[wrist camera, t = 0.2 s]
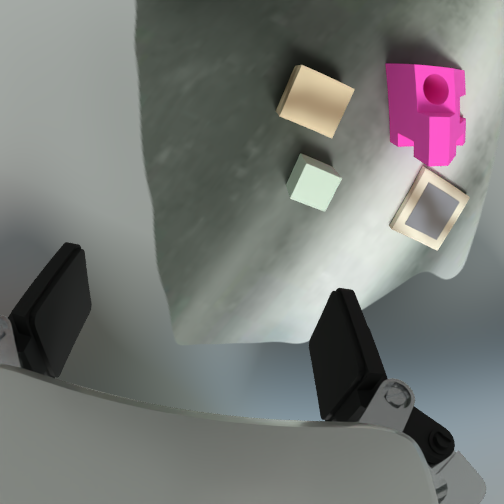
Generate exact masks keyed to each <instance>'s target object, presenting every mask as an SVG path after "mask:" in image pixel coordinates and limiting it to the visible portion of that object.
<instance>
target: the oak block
mask: <svg viewBox="0 0 504 504" xmlns="http://www.w3.org/2000/svg"><path fill="white" fill-rule="evenodd" d="M354 90H355V89H353V88H351V87H349V86H347V85H345V84H343V83H341V82H339V81H337V80H334V79H332V78H330V77H328V76H326V75H324V74H322V73H319V72H317V71H315V70H313V69H310V68H308V67H306V66H303V65H297V66H295V67H294V70H293V72H292V74H291V76H290V79H289V81H288V83H287V86H286V88H285V90H284V93H283V95H282V97H281V100H280V102H279V104H278V107H277V109H276V112H277V113H278V115H279V116H280V117H283V118H285V119H288V120H290V121H293V122H295V123H297V124H300V125H302V126H305V127H307V128H309V129H312V130H314V131H316V132H319V133H321V134H323V135H325V136H328V137H330V138H332V137H333V135H334V133H335V131H336V129H337V126H338V124H339V122H340V120H341V118H342V116H343V114H344V111H345V109H346V107H347V105H348V103H349V101H350V98H351V96H352V94H353V92H354Z"/></svg>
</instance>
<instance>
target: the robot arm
mask: <svg viewBox="0 0 504 504" xmlns="http://www.w3.org/2000/svg"><path fill="white" fill-rule="evenodd" d="M90 310H91V298H90V292H89V284H88V277H87V269H86V260H85V252H84V250H83V249H81V247H80V245H78V244H73V243H67V242H66V243H64V244H63V246H62V247H61V248H60V249H59V250H58V252H57V253H56V254H55V255H54V256H53V258H52V259H51V260H50V261H49V263H48V264H47V265H46V266H45V268H44V269H43V270H42V271H41V273H40V274H39V275H38V276H37V278H36V279H35V280H34V282H33V283H32V284H31V286H30V287H29V288H28V290H27V291H26V292H25V294H24V295H23V297H22V298H21V299H20V301H19V302H18V303H17V305H16V306H15V308H14V309H13V310H12V312H11V314H10V315H9V317H8V318H7V317H5V316H3V315H0V504H479V503H480V502H481V501H482V499H483V498H484V496H485V494H486V485H485V482H484V480H483V478H482V477H481V476H480V475H479V474H478V473H477V471H476V470H475V469H474V468H473V467H472V466H471V464H470V463H469V462H468V461H467V460H466V459H465V457H464V456H463V455H462V454H461V453H460V452H459V451H457V452H455V451H454V447H455V444H454V439H453V436H452V435H451V433H450V432H449V431H448V430H447V429H446V428H444V427H443V426H441V425H440V424H439V423H437V422H435V421H434V420H433V419H431V418H430V417H428V416H427V415H425V414H424V413H423V412H421V411H420V410H418V409H417V408H416V407H414V403H415V397H414V394H413V391H412V390H411V388H410V387H409V386H408V385H407V384H406V383H404V382H403V381H401V380H398V379H387V376H386V373H385V370H384V367H383V364H382V362H381V359H380V356H379V353H378V350H377V348H376V345H375V342H374V340H373V337H372V334H371V332H370V329H369V327H368V326H367V323H366V321H365V318H364V316H363V313H362V310H361V308H360V305H359V303H358V300H357V298H356V295H355V293H354V291H353V290H351V289H343V288H338V289H337V290H336V291H332V293H331V295H330V297H329V299H328V301H327V304H326V306H325V308H324V310H323V313H322V315H321V317H320V319H319V321H318V323H317V326H316V328H315V330H314V332H313V334H312V336H311V338H310V342H309V350H310V356H311V361H312V367H313V373H314V379H315V385H316V390H317V396H318V403H319V409H320V415H321V418H322V419H323V420H325V421H296V420H275V419H274V420H273V419H260V418H259V419H258V418H248V417H236V416H227V415H220V414H211V413H204V412H196V411H190V410H184V409H178V408H172V407H166V406H161V405H156V404H151V403H146V402H141V401H137V400H132V399H128V398H123V397H119V396H115V395H111V394H107V393H103V392H100V391H96V390H92V389H89V388H85V387H81V386H78V385H74V384H72V383H68V382H65V381H61V380H58V379H55V377H59V376H60V374H61V372H62V369H63V367H64V365H65V362H66V360H67V358H68V356H69V354H70V352H71V350H72V347H73V345H74V343H75V341H76V339H77V337H78V335H79V333H80V331H81V329H82V327H83V325H84V323H85V321H86V319H87V317H88V315H89V313H90Z"/></svg>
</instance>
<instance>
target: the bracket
mask: <svg viewBox="0 0 504 504" xmlns="http://www.w3.org/2000/svg"><path fill="white" fill-rule="evenodd" d="M385 64H386V75H387V86H388V100H389V119H390V142H391V143H393V144H394V145H396V146H398V147H402V146H414V157H415V158H417V159H418V160H420V161H421V162H423V163H424V164H426V165H427V166H448V165H449V164H450V162H451V161H452V160H453V158H454V157H455V156H456V145H463V144H464V143H465V129H466V119H465V118H463V117H460V97H461V96H463V95H466V93H465V71H464V70H459V69H453V68H446V67H437V66H427V65H416V64H387V63H385Z"/></svg>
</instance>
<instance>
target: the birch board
mask: <svg viewBox="0 0 504 504" xmlns="http://www.w3.org/2000/svg"><path fill="white" fill-rule="evenodd" d="M469 198H470V197H468V196H467V195H466V194H464V193H463V192H462V191H460V190H459V189H457V188H456V187H454V186H453V185H451V184H450V183H448V182H447V181H445V180H444V179H442V178H441V177H439V176H438V175H436V174H435V173H433V172H432V171H430V170H428V169H427V168H425V167H424V166H422V168H421V170H420V172H419V174H418V176H417V178H416V179H415V181H414V183H413V185H412V187H411V189H410V190H409V192H408V194H407V196H406V198H405V199H404V201H403V203H402V205H401V206H400V208H399V210H398V212H397V213H396V215H395V217H394V218H393V220H392V222H391V223H390V225H389V226H390V228H391V229H393V230H395V231H397V232H399V233H401V234H403V235H406V236H408V237H410V238H412V239H414V240H416V241H418V242H421V243H423V244H425V245H427V246H429V247H431V248H433V249H435V250H438V249H439V247H440V246H441V244H442V243H443V241H444V239H445V238H446V236H447V235H448V233H449V232H450V230H451V228H452V227H453V225H454V223H455V222H456V220H457V219H458V217H459V215H460V213H461V212H462V210H463V208H464V207H465V205H466V203H467V201H468V200H469Z"/></svg>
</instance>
